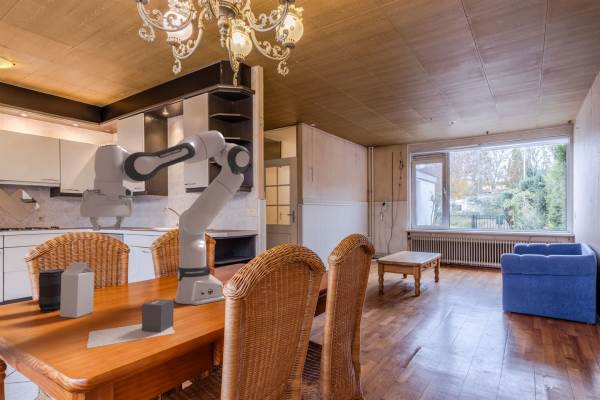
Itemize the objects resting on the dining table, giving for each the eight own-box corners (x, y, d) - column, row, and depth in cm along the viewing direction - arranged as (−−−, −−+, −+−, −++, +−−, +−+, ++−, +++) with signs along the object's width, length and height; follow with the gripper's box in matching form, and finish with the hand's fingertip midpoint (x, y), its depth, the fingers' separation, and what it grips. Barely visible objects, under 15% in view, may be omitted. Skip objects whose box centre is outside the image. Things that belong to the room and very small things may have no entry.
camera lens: (47, 307, 130) (48, 268, 130) (68, 306, 130) (69, 268, 131) (32, 313, 122) (33, 272, 122) (55, 313, 122) (56, 272, 123)
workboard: (167, 324, 109) (167, 319, 110) (175, 338, 97) (175, 332, 97) (89, 336, 98) (89, 331, 98) (86, 354, 86) (86, 348, 86)
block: (155, 324, 105) (155, 297, 106) (173, 325, 104) (173, 298, 104) (141, 331, 99) (142, 303, 99) (160, 332, 98) (161, 304, 98)
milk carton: (76, 318, 116) (78, 264, 117) (59, 317, 117) (61, 263, 118) (93, 312, 123) (94, 261, 124) (77, 311, 124) (78, 260, 125)
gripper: (91, 188, 105) (90, 231, 105) (135, 192, 125) (135, 228, 125) (75, 188, 107) (73, 231, 106) (121, 192, 127) (120, 228, 126)
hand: (107, 229), depth 116 cm, fingers open, 8 cm apart
